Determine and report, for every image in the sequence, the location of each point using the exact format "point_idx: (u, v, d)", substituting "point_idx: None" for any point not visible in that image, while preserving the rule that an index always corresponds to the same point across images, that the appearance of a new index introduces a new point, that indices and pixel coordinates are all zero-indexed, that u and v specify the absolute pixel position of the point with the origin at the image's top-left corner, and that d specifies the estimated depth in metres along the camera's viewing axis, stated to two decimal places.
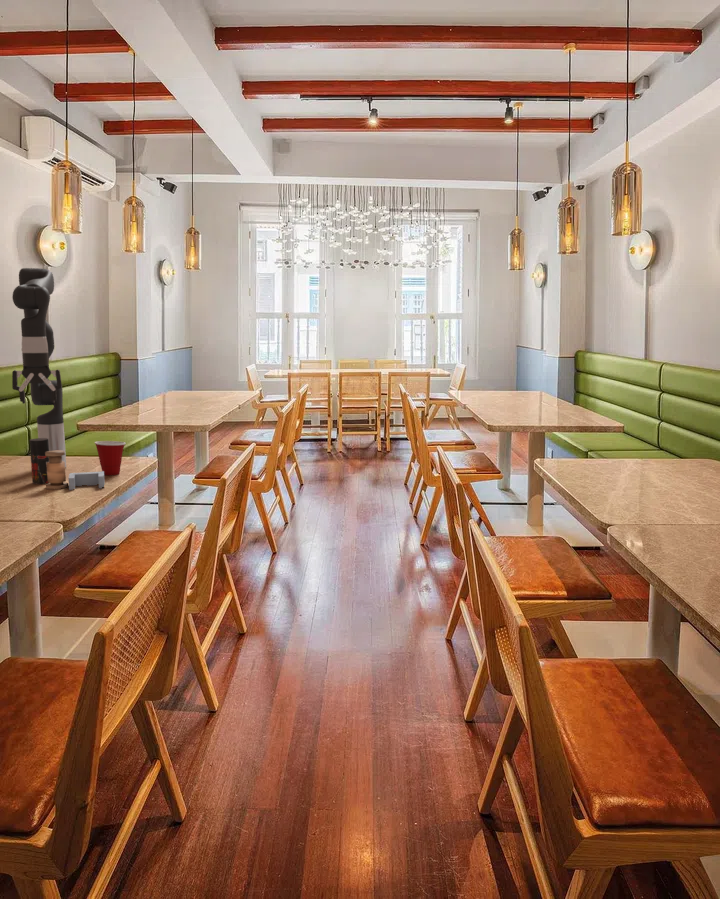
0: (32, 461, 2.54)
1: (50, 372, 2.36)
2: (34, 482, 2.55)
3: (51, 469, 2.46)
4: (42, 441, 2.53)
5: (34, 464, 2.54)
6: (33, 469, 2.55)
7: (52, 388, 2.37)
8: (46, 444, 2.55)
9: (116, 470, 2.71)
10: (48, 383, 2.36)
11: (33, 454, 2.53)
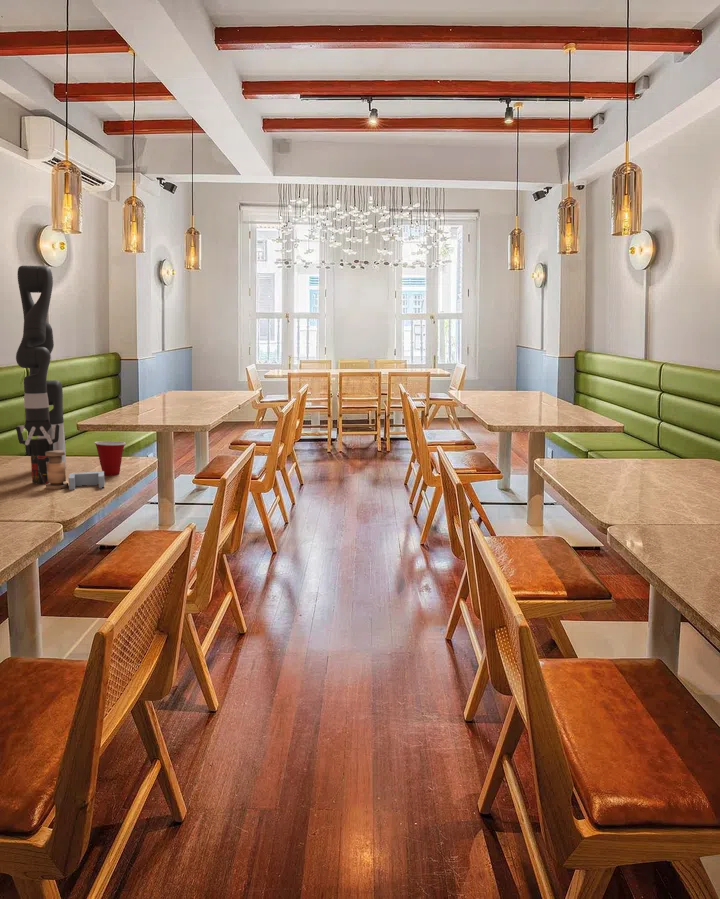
0: (32, 461, 2.54)
1: (50, 426, 2.55)
2: (34, 482, 2.55)
3: (51, 469, 2.46)
4: (42, 441, 2.53)
5: (34, 464, 2.54)
6: (33, 469, 2.55)
7: (49, 442, 2.55)
8: (46, 444, 2.55)
9: (116, 470, 2.71)
10: (47, 436, 2.55)
11: (33, 454, 2.53)
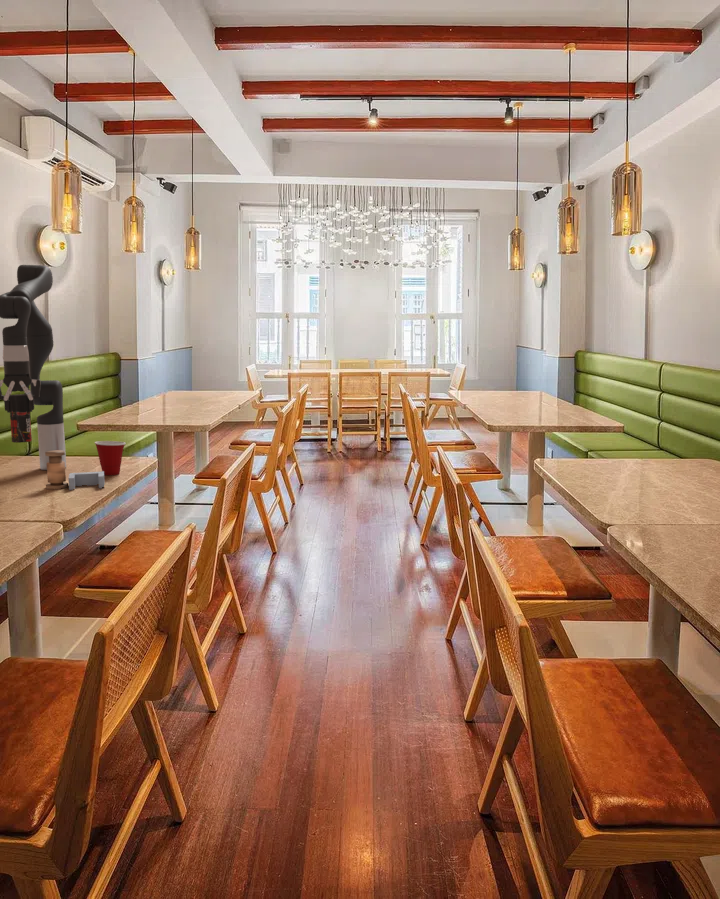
0: (11, 418, 2.40)
1: (31, 381, 2.41)
2: (13, 440, 2.41)
3: (51, 469, 2.46)
4: (22, 396, 2.39)
5: (13, 421, 2.40)
6: (12, 426, 2.40)
7: (30, 397, 2.41)
8: (26, 400, 2.41)
9: (116, 470, 2.71)
10: (27, 392, 2.40)
11: (12, 410, 2.39)
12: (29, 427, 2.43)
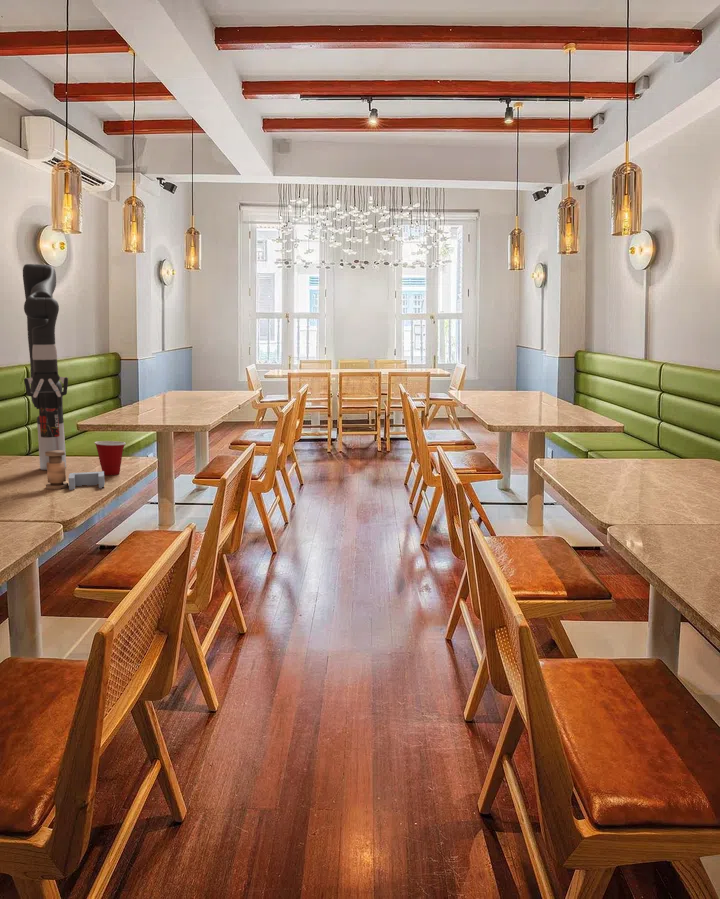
0: (40, 414, 2.51)
1: (59, 378, 2.52)
2: (42, 435, 2.51)
3: (51, 469, 2.46)
4: (51, 393, 2.50)
5: (42, 417, 2.50)
6: (41, 422, 2.51)
7: (58, 394, 2.52)
8: (55, 397, 2.51)
9: (116, 470, 2.71)
10: (55, 389, 2.51)
11: (41, 407, 2.50)
12: (57, 423, 2.53)
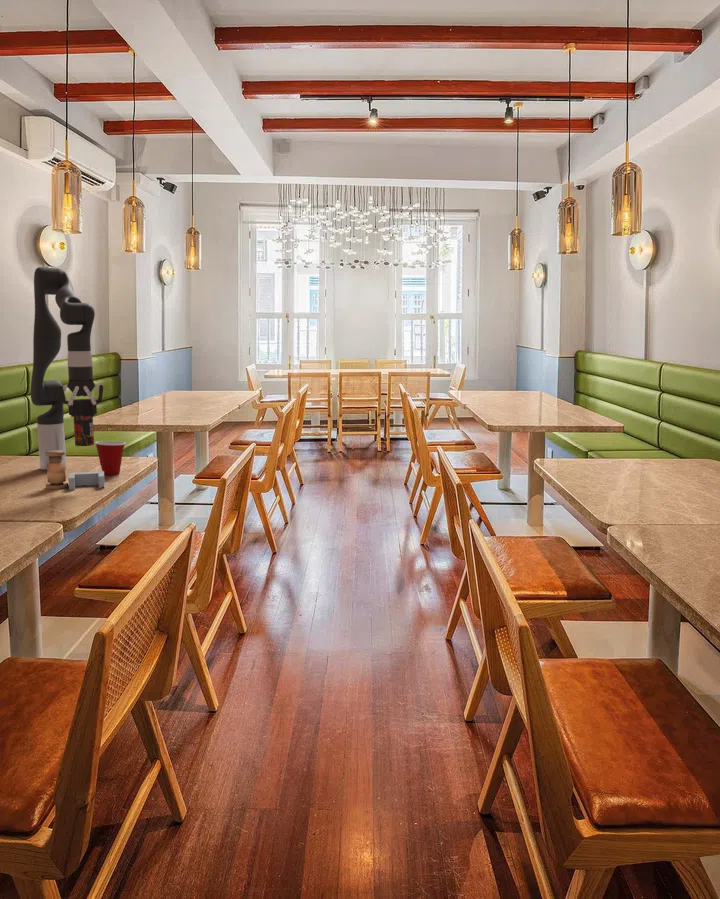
0: (75, 422, 2.44)
1: (94, 385, 2.46)
2: (77, 444, 2.45)
3: (51, 469, 2.46)
4: (86, 401, 2.44)
5: (77, 425, 2.44)
6: (76, 430, 2.45)
7: (93, 402, 2.46)
8: (90, 404, 2.45)
9: (116, 470, 2.71)
10: (90, 397, 2.45)
11: (76, 415, 2.44)
12: (92, 431, 2.47)
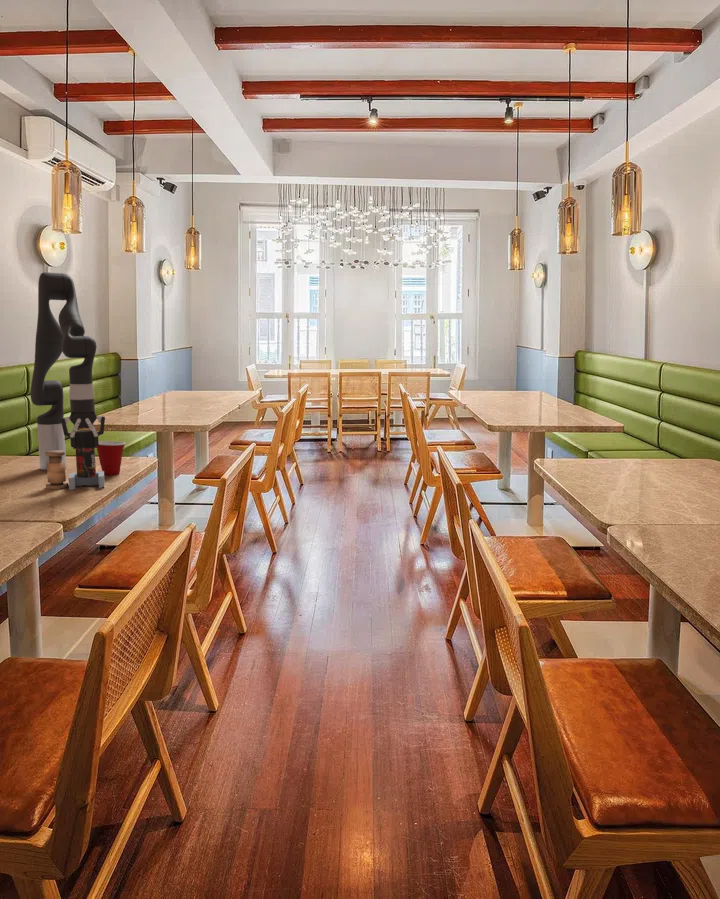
0: (77, 454, 2.46)
1: (96, 418, 2.47)
2: (79, 476, 2.47)
3: (51, 469, 2.46)
4: (88, 433, 2.45)
5: (79, 457, 2.46)
6: (78, 462, 2.46)
7: (95, 434, 2.47)
8: (91, 436, 2.47)
9: (116, 470, 2.71)
10: (92, 429, 2.47)
11: (78, 447, 2.45)
12: (94, 462, 2.49)
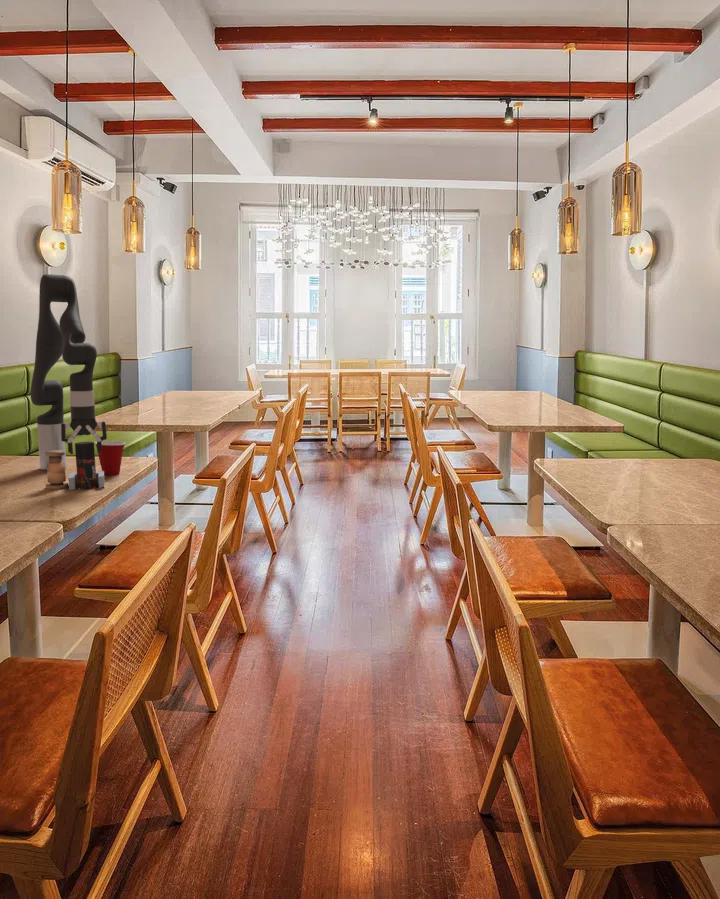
0: (78, 465, 2.47)
1: (96, 424, 2.48)
2: (80, 487, 2.48)
3: (51, 469, 2.46)
4: (88, 445, 2.46)
5: (80, 468, 2.46)
6: (79, 473, 2.47)
7: (98, 439, 2.48)
8: (92, 448, 2.47)
9: (116, 470, 2.71)
10: (94, 434, 2.47)
11: (79, 458, 2.46)
12: (94, 474, 2.49)
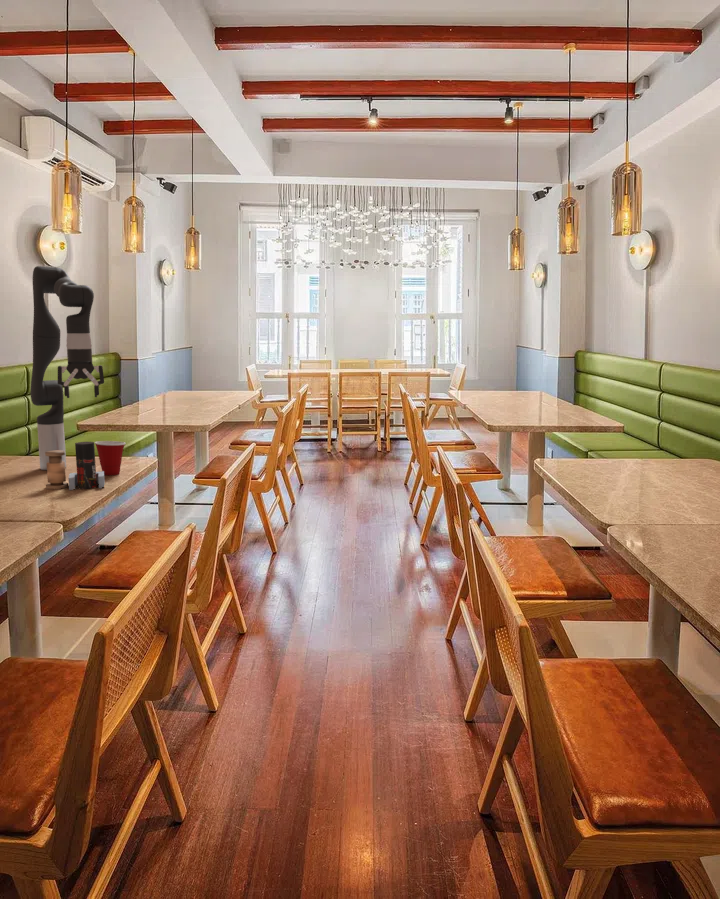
0: (78, 465, 2.47)
1: (93, 368, 2.45)
2: (80, 487, 2.48)
3: (51, 469, 2.46)
4: (88, 444, 2.46)
5: (80, 468, 2.46)
6: (79, 473, 2.47)
7: (95, 383, 2.45)
8: (92, 448, 2.47)
9: (116, 470, 2.71)
10: (91, 378, 2.44)
11: (79, 458, 2.46)
12: (95, 474, 2.49)
